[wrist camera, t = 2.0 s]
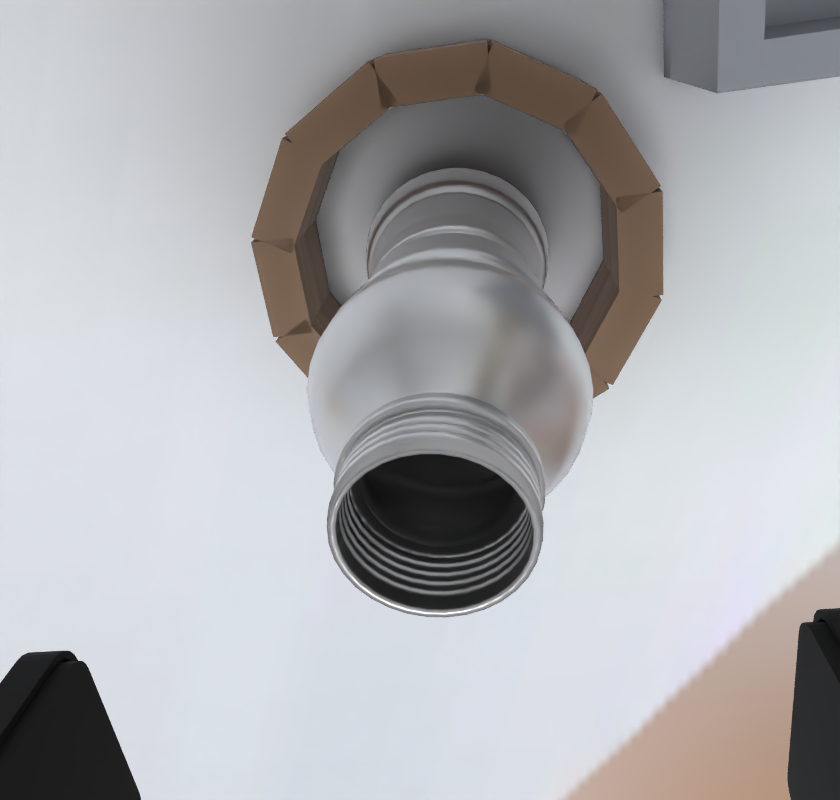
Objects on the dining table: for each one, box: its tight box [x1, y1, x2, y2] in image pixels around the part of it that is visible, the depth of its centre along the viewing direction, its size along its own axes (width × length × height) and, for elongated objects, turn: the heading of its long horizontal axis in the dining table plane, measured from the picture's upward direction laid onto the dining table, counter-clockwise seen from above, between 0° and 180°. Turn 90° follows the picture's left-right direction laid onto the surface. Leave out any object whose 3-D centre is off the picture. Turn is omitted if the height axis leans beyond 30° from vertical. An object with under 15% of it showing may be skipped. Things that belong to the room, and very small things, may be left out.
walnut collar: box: [251, 39, 663, 398], centre depth 29 cm, size 14×14×4 cm
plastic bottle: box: [307, 168, 593, 617], centre depth 22 cm, size 6×7×20 cm
